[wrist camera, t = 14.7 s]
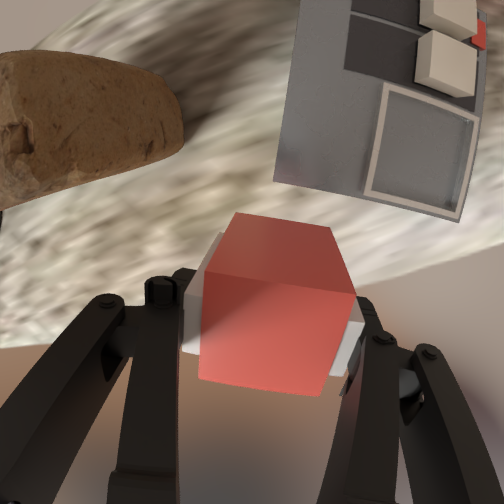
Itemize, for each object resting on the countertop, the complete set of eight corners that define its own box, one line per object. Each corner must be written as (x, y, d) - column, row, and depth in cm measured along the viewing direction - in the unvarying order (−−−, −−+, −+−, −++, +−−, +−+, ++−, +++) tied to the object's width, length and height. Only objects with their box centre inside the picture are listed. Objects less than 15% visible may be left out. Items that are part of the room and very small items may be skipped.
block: (183, 75, 25) (16, 20, 6) (195, 154, 27) (36, 213, 9) (86, 106, 26) (-86, 123, 8) (98, 175, 29) (-66, 246, 11)
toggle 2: (414, 81, 19) (429, 76, 17) (418, 38, 18) (433, 29, 15) (455, 97, 19) (473, 95, 16) (459, 55, 18) (477, 49, 15)
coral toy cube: (226, 294, 19) (198, 378, 12) (235, 212, 17) (204, 270, 10) (310, 307, 18) (319, 396, 12) (329, 227, 16) (356, 294, 10)
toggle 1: (419, 23, 17) (433, 13, 15) (420, -13, 16) (433, -25, 13) (460, 41, 17) (477, 34, 14) (460, 5, 16) (475, -5, 13)
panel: (274, 175, 27) (271, 184, 23) (306, -33, 19) (308, -54, 15) (445, 214, 26) (465, 227, 22) (471, 20, 18) (492, 10, 14)
